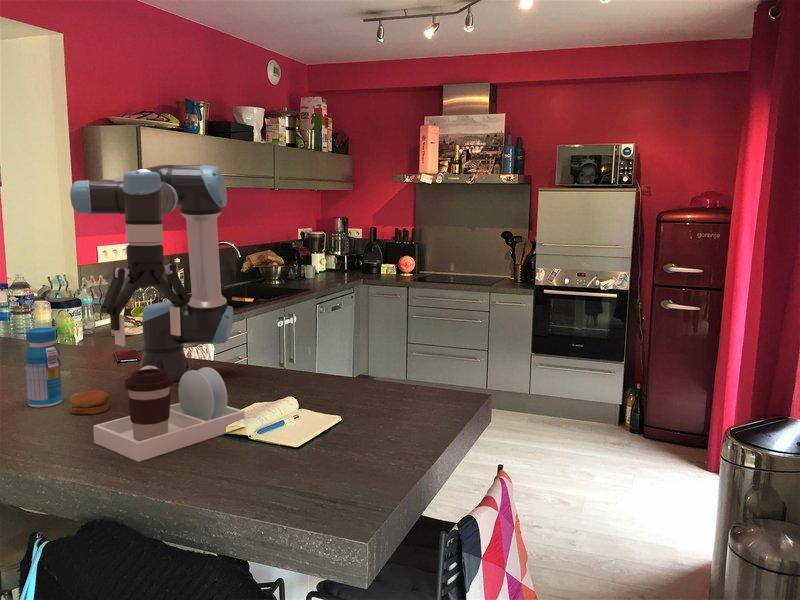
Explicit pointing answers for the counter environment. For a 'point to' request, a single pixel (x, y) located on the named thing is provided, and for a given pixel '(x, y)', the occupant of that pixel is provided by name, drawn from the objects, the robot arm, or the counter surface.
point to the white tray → (179, 434)
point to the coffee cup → (149, 402)
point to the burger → (89, 402)
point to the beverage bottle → (42, 368)
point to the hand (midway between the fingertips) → (149, 339)
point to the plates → (203, 394)
